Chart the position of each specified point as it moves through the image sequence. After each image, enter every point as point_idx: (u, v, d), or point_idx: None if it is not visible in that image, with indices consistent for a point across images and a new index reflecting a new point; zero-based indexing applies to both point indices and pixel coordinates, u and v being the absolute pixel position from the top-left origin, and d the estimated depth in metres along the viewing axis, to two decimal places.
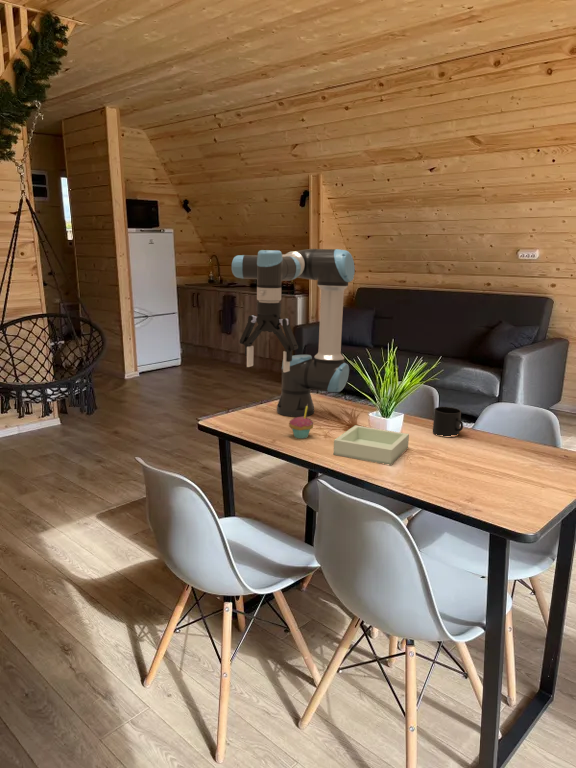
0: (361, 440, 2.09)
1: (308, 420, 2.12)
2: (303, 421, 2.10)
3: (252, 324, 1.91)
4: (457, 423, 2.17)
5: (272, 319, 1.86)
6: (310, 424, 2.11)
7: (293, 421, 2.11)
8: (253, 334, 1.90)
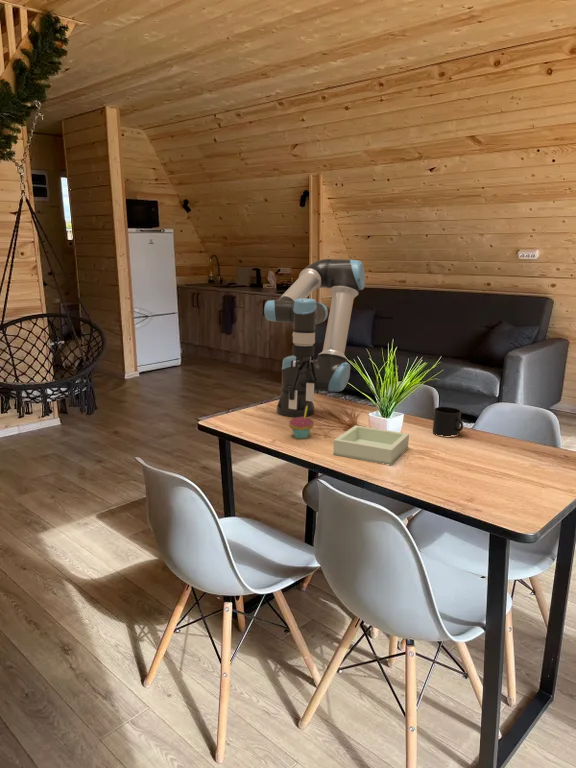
0: (361, 440, 2.09)
1: (308, 420, 2.12)
2: (303, 421, 2.10)
3: (310, 363, 2.13)
4: (457, 423, 2.17)
5: None
6: (310, 424, 2.11)
7: (293, 421, 2.11)
8: None
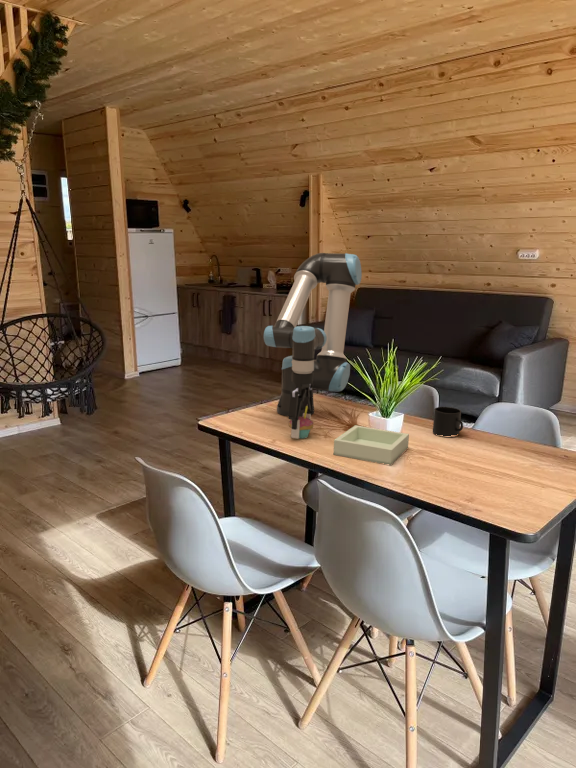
0: (361, 440, 2.09)
1: (308, 420, 2.12)
2: (303, 420, 2.10)
3: (308, 391, 2.15)
4: (457, 423, 2.17)
5: None
6: (310, 424, 2.11)
7: None
8: None
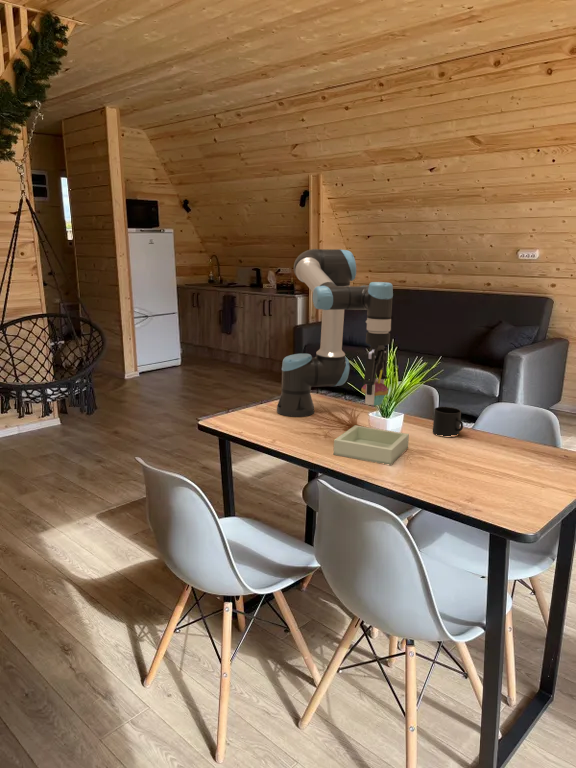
0: (361, 440, 2.09)
1: (383, 385, 1.94)
2: (378, 385, 1.93)
3: None
4: (457, 423, 2.17)
5: None
6: (385, 389, 1.93)
7: None
8: None
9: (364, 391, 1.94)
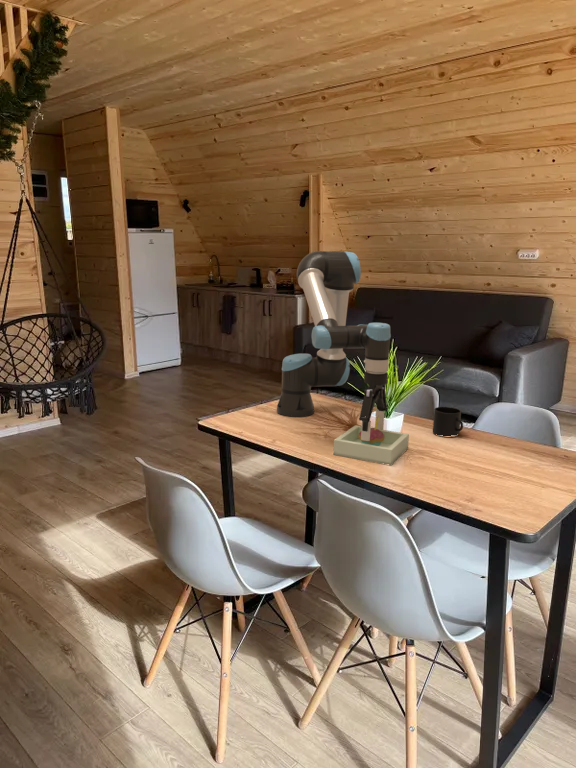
0: None
1: (380, 432, 1.97)
2: (375, 432, 1.96)
3: None
4: (457, 423, 2.17)
5: None
6: (382, 436, 1.96)
7: None
8: None
9: None
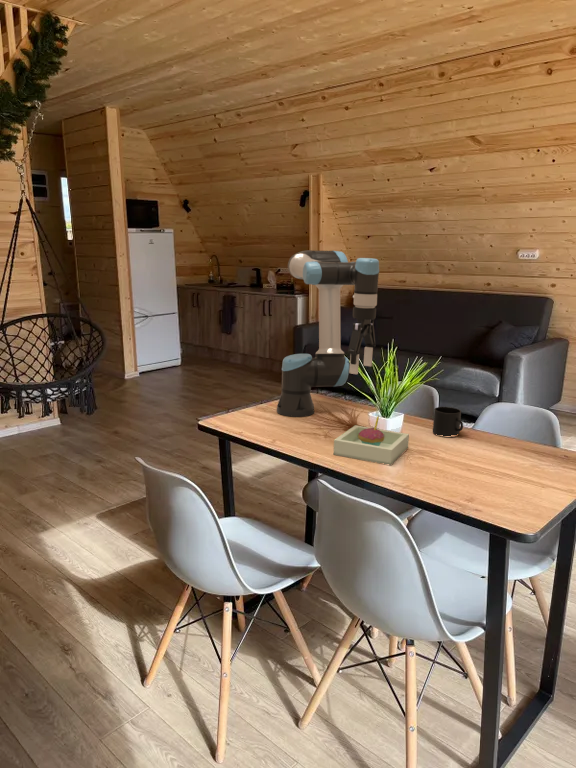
0: None
1: (380, 432, 1.97)
2: (375, 432, 1.96)
3: None
4: (457, 423, 2.17)
5: None
6: (382, 436, 1.96)
7: (363, 433, 1.97)
8: None
9: (361, 438, 1.96)
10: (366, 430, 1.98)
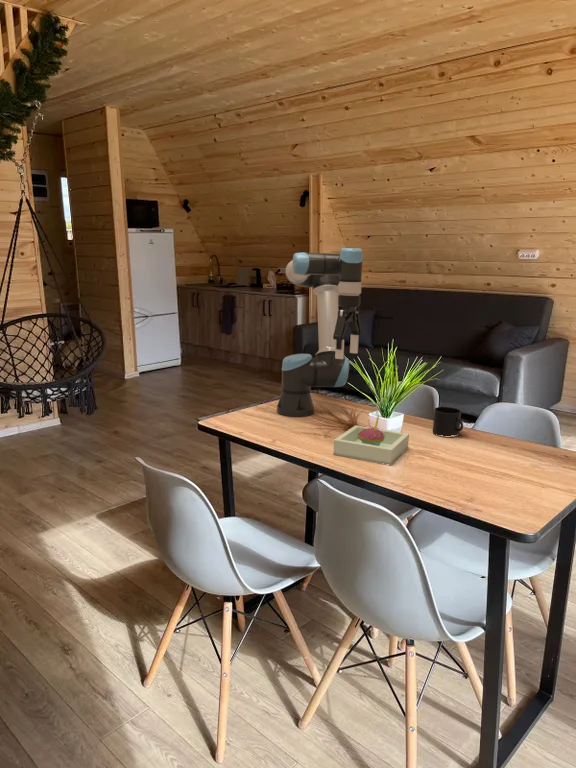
0: None
1: (380, 432, 1.97)
2: (375, 432, 1.96)
3: None
4: (457, 423, 2.17)
5: None
6: (382, 436, 1.96)
7: (363, 433, 1.97)
8: None
9: (361, 438, 1.96)
10: (366, 430, 1.98)
